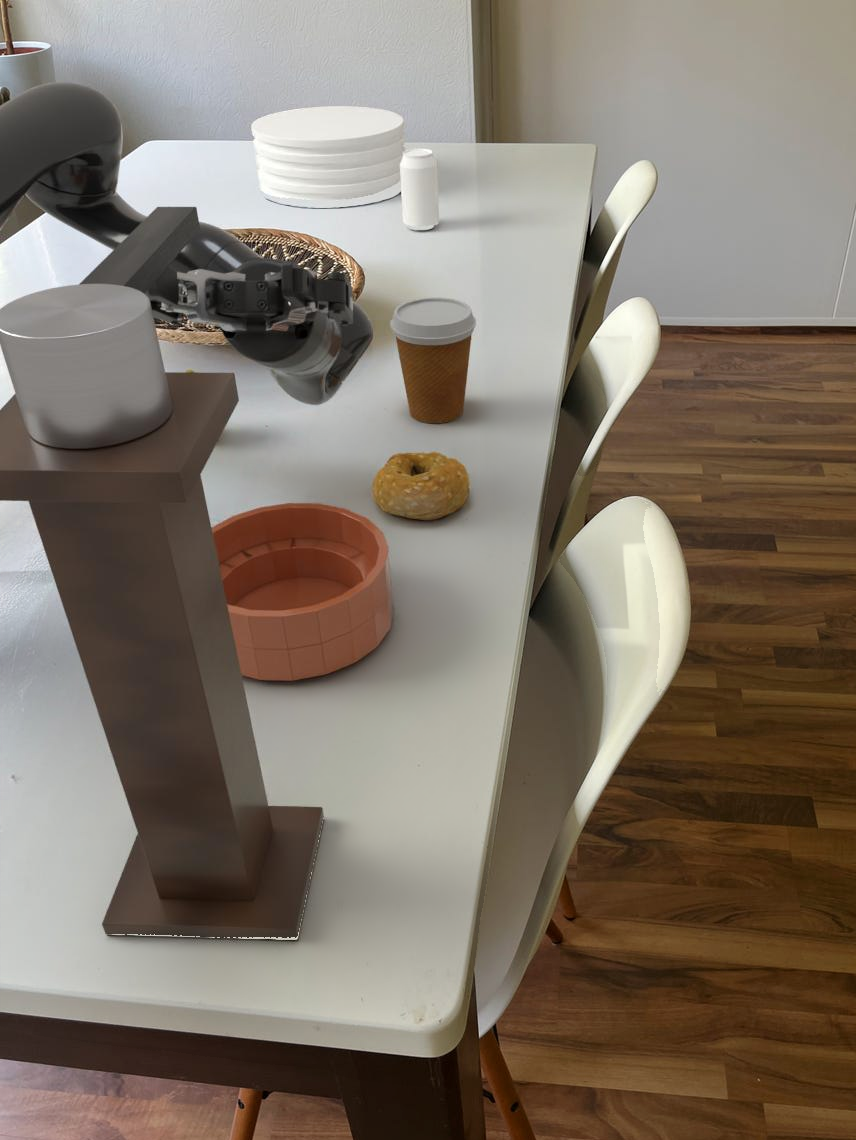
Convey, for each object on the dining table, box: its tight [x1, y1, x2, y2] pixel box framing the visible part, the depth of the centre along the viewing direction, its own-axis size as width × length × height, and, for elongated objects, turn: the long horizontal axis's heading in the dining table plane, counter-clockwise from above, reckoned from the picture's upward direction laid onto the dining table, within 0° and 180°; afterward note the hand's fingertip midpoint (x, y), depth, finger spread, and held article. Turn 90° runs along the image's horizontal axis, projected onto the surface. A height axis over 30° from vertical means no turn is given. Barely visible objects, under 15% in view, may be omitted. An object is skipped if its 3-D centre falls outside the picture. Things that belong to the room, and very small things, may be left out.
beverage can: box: [400, 148, 440, 227], centre depth 172 cm, size 6×6×12 cm
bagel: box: [371, 451, 471, 521], centre depth 102 cm, size 10×11×5 cm
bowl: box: [211, 502, 395, 682], centre depth 86 cm, size 17×17×7 cm
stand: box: [0, 371, 325, 938], centre depth 57 cm, size 12×10×32 cm
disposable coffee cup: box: [389, 296, 477, 424], centre depth 116 cm, size 10×10×12 cm
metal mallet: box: [0, 206, 200, 449], centre depth 50 cm, size 6×19×5 cm, turn 178°
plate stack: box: [250, 105, 406, 201], centre depth 192 cm, size 28×28×12 cm
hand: (219, 277), depth 64 cm, fingers open, 8 cm apart
